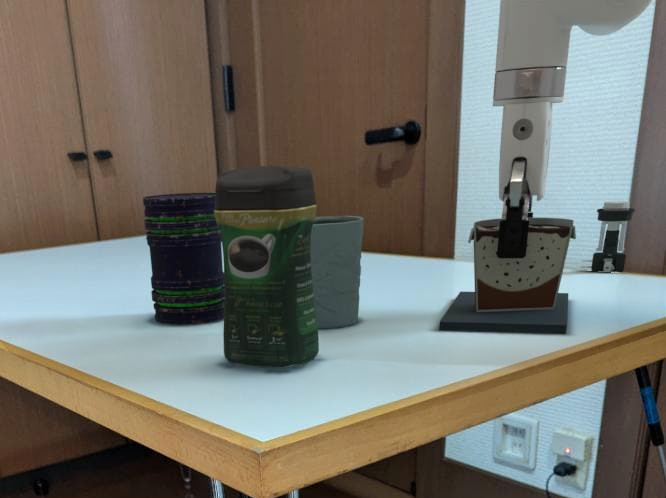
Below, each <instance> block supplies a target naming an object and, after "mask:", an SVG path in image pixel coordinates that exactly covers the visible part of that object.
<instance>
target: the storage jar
mask: <svg viewBox="0 0 666 498" xmlns="http://www.w3.org/2000/svg"><path fill="white" fill-rule="evenodd" d="M142 204H143V206H144V209H143V215H144V218H146V219H144V220H143V221H144V229H145V230H146V233H145V234H146V238H145V240H146V243H147V246H148V247H149V256H150V265H151V266H150V267H151V277H150V285H151V289H152V290H151V291H150V292H151V293H150V294H151V301H152V302H154V303H153V310H154V311H155V312H154V313H155V314H154V321H155V323H157V324H162V325H167V326H198V325H205V324H212V323H217V322H220V321H224V265H223V249H222V239H221V234H220V231H219V228H218V225H217V222H216V219H215V213H214V211H215V192H187V193H185V192H184V193H168V194H167V193H166V194H156V195H147V196H144V197H142Z"/></svg>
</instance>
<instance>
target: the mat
mask: <svg viewBox="0 0 666 498" xmlns="http://www.w3.org/2000/svg"><path fill="white" fill-rule="evenodd" d="M568 313H569V293H568V292H558V295H557V300H556V304H555V309H551V310H525V311H498V312H476V311H475V291H460V292H459V293H458V294H457V296H455V299H454V300H453V301H452V303H451V304H450V306H449V307H448V308H447V311H445V313H444V315H443V316H442V317H441V319H440V320H439V324H438V330H439V331H453V332H454V331H455V332H456V331H457V332H458V331H459V332H485V333H486V332H488V333H489V332H490V333H491V332H492V333H521V334H522V333H523V334H527V333H528V334H553V335H554V334H555V335H557V334H559V335H566V334H567V329H568V315H569V314H568Z"/></svg>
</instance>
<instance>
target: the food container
mask: <svg viewBox="0 0 666 498" xmlns="http://www.w3.org/2000/svg"><path fill="white" fill-rule="evenodd" d="M528 220H529V230H528V240H527V251H526V256H525V257H524V258H498V257H497V248H498V236H499V224H500V221H502V217H501V218H492V219H482V220H477V221H475V222H474V223H473V227H472V228H471V229H470V233H469V236H468V240H467V243H468V244H471V242H472V241H473V274H474V275H473V276H474V292H475V311H476V312H498V311H525V310H551V309H555V304H556V300H557V295H558V293H559V289H560V286H561V283H562V282H561V281H562V277H563V273H564V269H565V263H566V259H567V255H568V251H569V245H570V241H571V239H572V240H576V239H577V234H576V233H577V232H576V226H575V225H574V219H569V218H562V217H561V218H559V217H533V218H527V221H528Z"/></svg>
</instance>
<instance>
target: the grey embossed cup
mask: <svg viewBox="0 0 666 498" xmlns="http://www.w3.org/2000/svg"><path fill="white" fill-rule="evenodd" d="M364 222H365V220H364V217H363V216H358V215H357V216H356V215H331V216H330V215H329V216H315V220H314V223H313V226H312V230H311V241H310V257H311V271H312V282H313V293H314V302H315V311H316V319H317V327H318V330H319V329H320V330H321V329H337V328H343V327H349V326H352V325H354V324H356V323H357V322H358V320H359V311H360V287H361V275H362V274H361V273H362V264H361V259H362V244H363V237H364V236H363V235H364Z"/></svg>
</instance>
